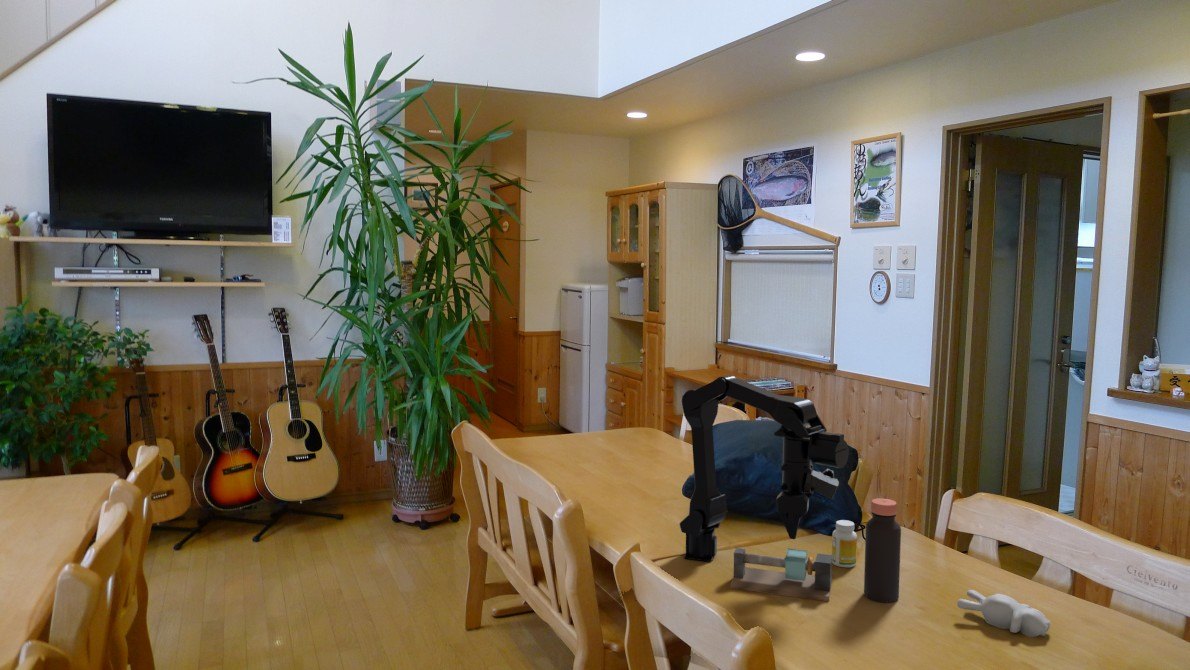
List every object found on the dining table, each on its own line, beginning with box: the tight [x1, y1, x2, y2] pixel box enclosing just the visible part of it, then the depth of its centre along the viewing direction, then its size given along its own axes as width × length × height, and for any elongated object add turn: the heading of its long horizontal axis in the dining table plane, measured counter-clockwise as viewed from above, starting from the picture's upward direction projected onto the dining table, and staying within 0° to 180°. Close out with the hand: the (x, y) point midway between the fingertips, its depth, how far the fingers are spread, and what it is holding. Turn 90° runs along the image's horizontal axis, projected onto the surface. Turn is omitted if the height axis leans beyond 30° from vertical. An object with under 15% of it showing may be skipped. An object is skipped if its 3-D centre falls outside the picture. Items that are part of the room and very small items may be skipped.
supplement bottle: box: [831, 519, 858, 569], centre depth 182 cm, size 5×5×10 cm
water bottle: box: [863, 497, 902, 604], centre depth 163 cm, size 7×7×20 cm
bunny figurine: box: [956, 589, 1052, 638], centre depth 151 cm, size 10×5×15 cm
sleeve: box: [784, 547, 808, 581], centre depth 169 cm, size 4×5×5 cm
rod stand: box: [730, 547, 833, 602], centre depth 170 cm, size 20×10×7 cm, turn 70°
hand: (795, 531), depth 169 cm, fingers open, 9 cm apart
